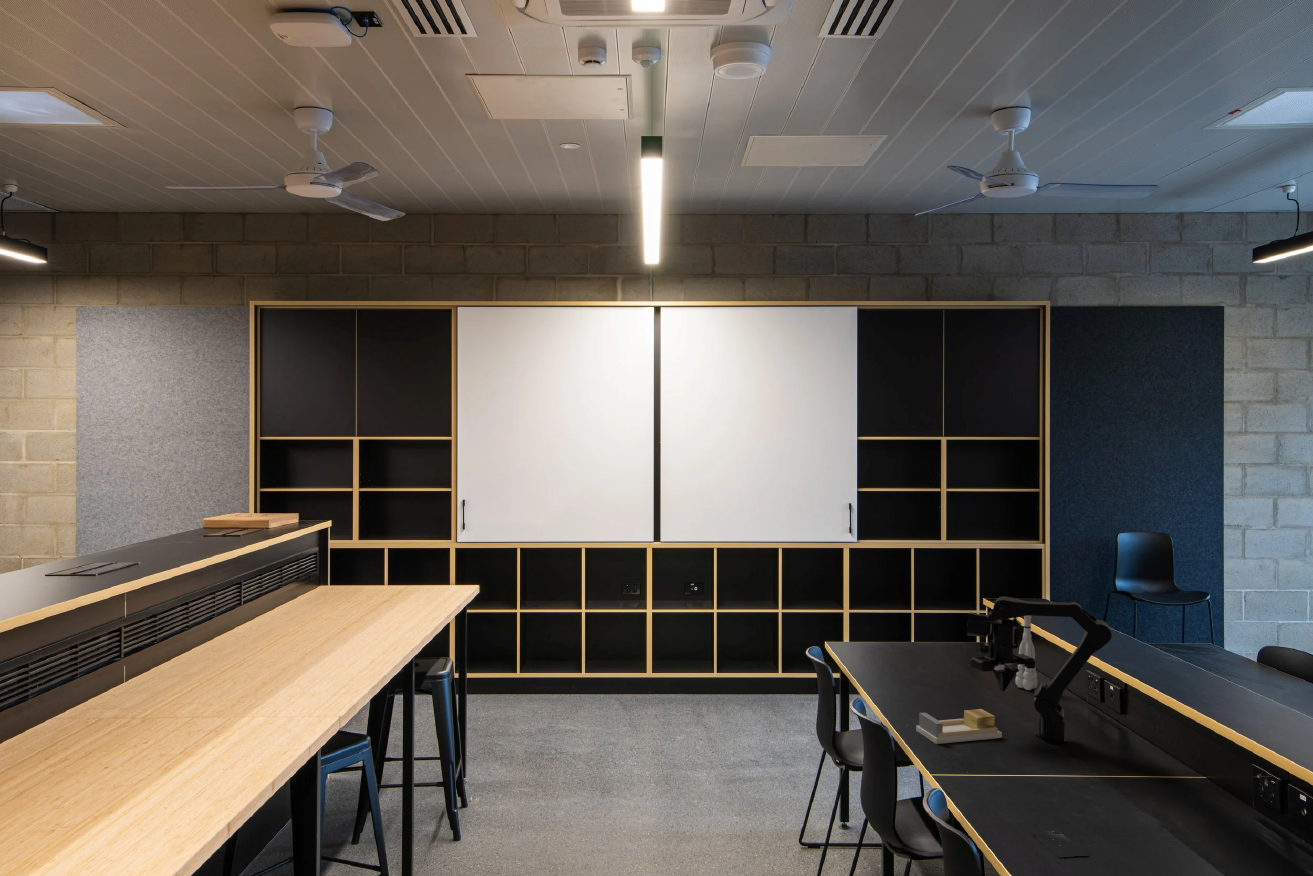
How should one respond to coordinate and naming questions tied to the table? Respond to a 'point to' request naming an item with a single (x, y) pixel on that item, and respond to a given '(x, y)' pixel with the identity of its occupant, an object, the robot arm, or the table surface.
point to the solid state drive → (1053, 836)
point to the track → (952, 730)
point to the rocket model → (1025, 675)
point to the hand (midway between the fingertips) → (1002, 691)
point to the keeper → (978, 719)
